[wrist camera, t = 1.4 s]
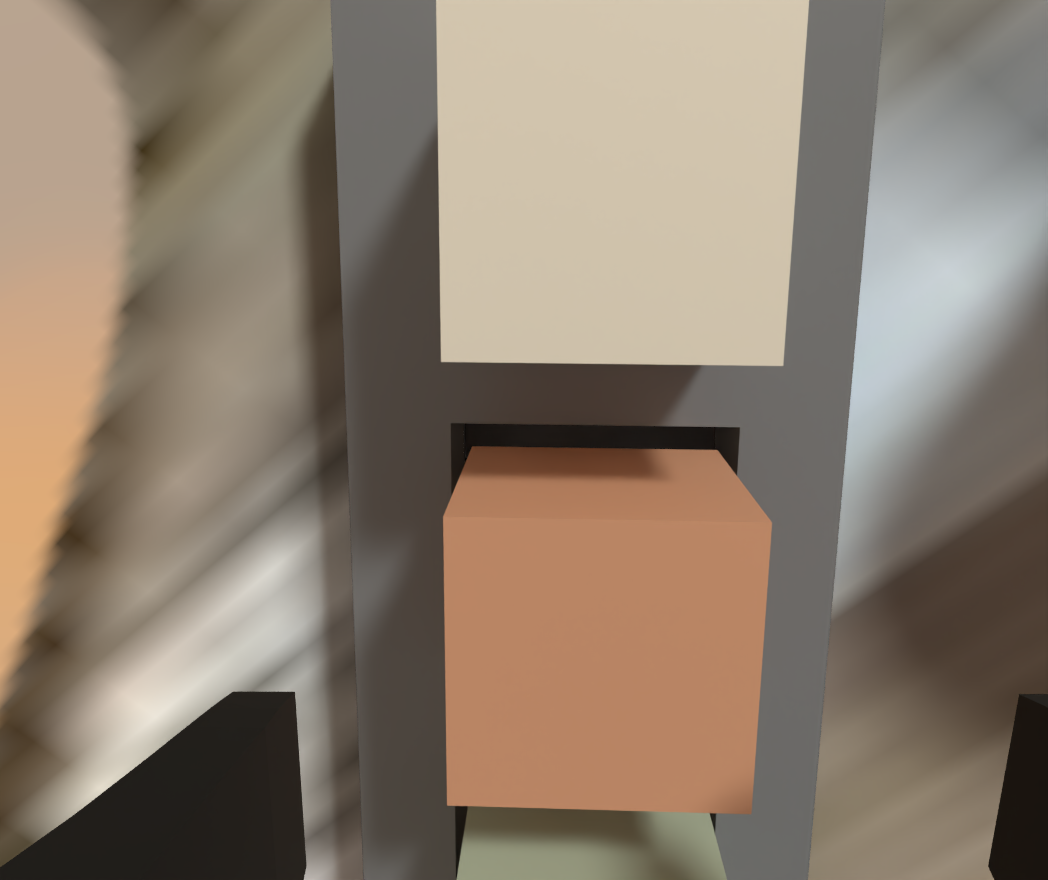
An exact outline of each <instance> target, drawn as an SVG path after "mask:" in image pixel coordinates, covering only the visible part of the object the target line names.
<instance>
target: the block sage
mask: <svg viewBox="0 0 1048 880" xmlns="http://www.w3.org/2000/svg"><path fill="white" fill-rule="evenodd" d="M457 880H727V878H726V874H725V870H724V866H723V863H722V859H721V855H720V851H719V847H718V844H717V840H716V836H715V832H714V828H713V825H712V821H711V817H710V813H688V812H654V811H619V810H585V809H550V808H516V807H482V806H468V810H467V817H466V823H465V829H464V836H463V842H462V848H461V855H460V861H459V867H458V874H457Z"/></svg>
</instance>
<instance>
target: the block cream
mask: <svg viewBox="0 0 1048 880" xmlns="http://www.w3.org/2000/svg"><path fill="white" fill-rule="evenodd" d="M808 10H809V0H436V28H437V102H438V175H439V249H440V322H441V362H488V363H572V364H656V365H741V366H783V362H784V348H785V334H786V320H787V306H788V292H789V278H790V264H791V250H792V235H793V221H794V207H795V193H796V179H797V165H798V151H799V137H800V123H801V109H802V95H803V81H804V66H805V52H806V38H807V24H808Z"/></svg>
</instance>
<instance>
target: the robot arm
mask: <svg viewBox="0 0 1048 880" xmlns="http://www.w3.org/2000/svg"><path fill="white" fill-rule="evenodd" d="M988 867H989V869H990V871H991V873H992V876H993V878H994V880H1048V694H1019V699H1018V705H1017V710H1016V716H1015V721H1014V727H1013V732H1012V738H1011V743H1010V749H1009V754H1008V760H1007V765H1006V771H1005V776H1004V782H1003V787H1002V793H1001V798H1000V804H999V809H998V815H997V820H996V826H995V831H994V837H993V842H992V848H991V853H990V859H989V865H988ZM305 870H306V853H305V838H304V823H303V808H302V793H301V777H300V762H299V747H298V732H297V717H296V702H295V692H232V693H231V694H229V695H228V696H226V697H225V698H224V699H222V700H221V701H219V702H218V703H217V704H215V705H214V706H213V707H211V708H210V709H209V710H207V711H206V712H205V713H204V714H202V715H201V716H200V717H198V718H197V719H196V720H195V721H193V722H192V723H191V724H190V725H188V726H187V727H186V728H185V729H183V730H182V731H181V732H180V733H178V734H177V735H176V736H175V737H173V738H172V739H171V740H170V741H168V742H167V743H166V744H165V745H163V746H162V747H161V748H160V749H158V750H157V751H156V752H155V753H153V754H152V755H151V756H150V757H148V758H147V759H146V760H144V761H143V762H142V763H141V764H139V765H138V766H137V767H135V768H134V769H133V770H132V771H130V772H129V773H128V774H126V775H125V776H124V777H122V778H121V779H120V780H119V781H117V782H116V783H115V784H113V785H112V786H111V787H110V788H108V789H107V790H106V791H104V792H103V793H102V794H101V795H99V796H98V797H97V798H95V799H94V800H93V801H92V802H90V803H89V804H88V805H86V806H85V807H84V808H83V809H81V810H80V811H79V812H77V813H76V814H75V815H73V816H72V817H70V818H69V819H68V820H66V821H65V822H63V823H62V824H61V825H59V826H58V827H56V828H55V829H54V830H52V831H51V832H49V833H48V834H47V835H45V836H44V837H42V838H41V839H40V840H38V841H37V842H35V843H34V844H33V845H31V846H30V847H28V848H27V849H26V850H24V851H23V852H21V853H20V854H19V855H17V856H16V857H14V858H13V859H11V860H10V861H9V862H7V863H6V864H4V865H3V866H2V867H0V880H303V879H304V875H305Z"/></svg>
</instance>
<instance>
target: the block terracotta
mask: <svg viewBox="0 0 1048 880" xmlns="http://www.w3.org/2000/svg"><path fill="white" fill-rule="evenodd" d="M771 531H772V522H771V520H770V519H769V518H768V516H767V515H766V514H765V513H764V511H763V510H762V509H761V507H760V506H759V505H758V503H757V502H756V501H755V499H754V498H753V497H752V495H751V494H750V493H749V491H748V490H747V489H746V487H745V486H744V485H743V483H742V482H741V481H740V479H739V478H738V477H737V475H736V474H735V473H734V471H733V470H732V469H731V467H730V466H729V465H728V463H727V462H726V461H725V459H724V458H723V457H722V455H721V454H720V453H719V451H718V450H686V449H620V448H554V447H488V446H472V448H471V450H470V453H469V455H468V458H467V460H466V463H465V465H464V467H463V470H462V472H461V475H460V477H459V480H458V482H457V484H456V487H455V489H454V492H453V494H452V497H451V499H450V501H449V504H448V506H447V509H446V511H445V513H444V516H443V542H444V616H445V689H446V763H447V806H482V807H516V808H550V809H585V810H619V811H654V812H688V813H722V814H751V813H752V799H753V785H754V770H755V756H756V742H757V728H758V714H759V700H760V686H761V672H762V658H763V644H764V630H765V616H766V602H767V587H768V573H769V559H770V545H771Z"/></svg>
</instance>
